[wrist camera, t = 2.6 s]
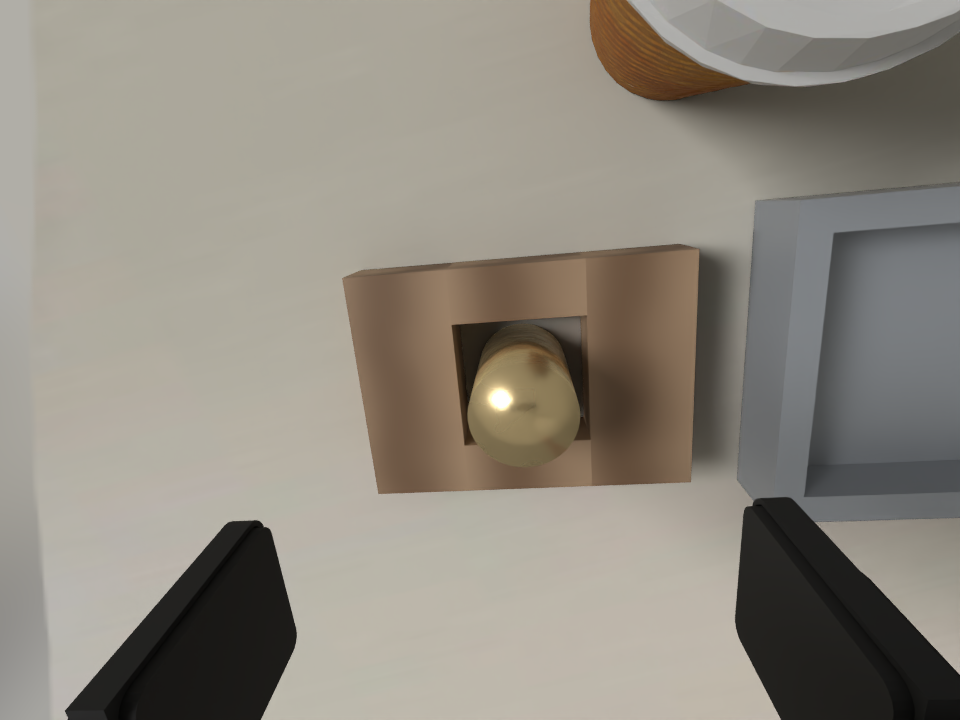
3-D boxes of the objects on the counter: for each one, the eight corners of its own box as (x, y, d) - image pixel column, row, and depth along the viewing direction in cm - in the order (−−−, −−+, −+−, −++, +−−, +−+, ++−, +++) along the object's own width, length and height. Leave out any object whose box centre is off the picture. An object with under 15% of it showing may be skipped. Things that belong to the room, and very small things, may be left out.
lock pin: (563, 320, 23) (578, 360, 17) (567, 402, 24) (582, 464, 18) (476, 326, 23) (462, 367, 18) (483, 407, 24) (472, 469, 19)
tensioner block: (679, 243, 21) (699, 249, 19) (673, 454, 24) (690, 482, 22) (360, 270, 23) (342, 278, 20) (391, 466, 26) (378, 493, 23)
